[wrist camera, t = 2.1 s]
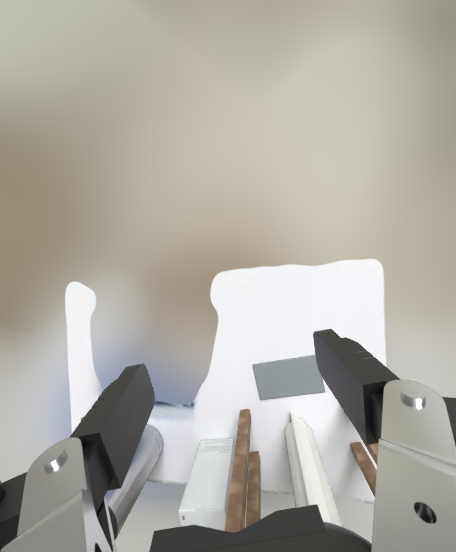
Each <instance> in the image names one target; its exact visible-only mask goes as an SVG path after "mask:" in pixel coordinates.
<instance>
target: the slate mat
mask: <svg viewBox="0 0 456 552" xmlns="http://www.w3.org/2000/svg"><path fill="white" fill-rule="evenodd" d="M253 369H254V373H255V378H256V382H257V387H258V391H259V396H260V400H263V399H271V398H279V397H287V396H295V395H303V394H311V393H319V392H325V389H324V384H323V379H322V376H321V374H320V372H319V370H318V366H317V362H316V355H311V356H305V357H298V358H291V359H285V360H278V361H272V362H265V363H258V364H253Z"/></svg>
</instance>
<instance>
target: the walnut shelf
mask: <svg viewBox="0 0 456 552" xmlns="http://www.w3.org/2000/svg"><path fill="white" fill-rule="evenodd" d="M250 426H251V415H250V410H249V409H244V410H241V411H240V418H239V425H238V433H237V440H236V448H235V455H234V463H233V470H232V478H231V485H230V492H229V500H228V507H227V515H226V522H225V530H224V531H228V532H238V531H241V530H242V529H244V528H245V510H246V494H247V477H248V460H249V477H248V495H247V514H246V527H248V526H250V525H252V524H253V523H255V522H257V521H259V520H260V456H259V451H256V452H250V459H249V443H250ZM357 432H358V431H357ZM358 434H359V433H358ZM359 435H360V434H359ZM360 437H361V436H360ZM361 439H362V437H361ZM362 440H363V439H362ZM363 442H364V440H363ZM364 444H365V446H366V447H367V449H368V451H369V452H370V454H371V456H372V458H373V459H374V461H375V463H376V464H377V459H378V444H379V443H376V444H370V445H366V443H365V442H364ZM351 447H352V452H353V454H354V456H355V458H356V460H357V462H358V464H359V466H360V468H361V470H362V472H363V474H364V476H365V478H366V480H367V482H368V484H369V486H370V488H371V491H372V493H373V495H374V497H375V489H376V474H377V470H376V469H375V467H374V465H373V463H372V462H371V460H370V458H369V456H368V455H367V453H366V451H365V449H364V448H363V446H362V444H361V442H357V443H351Z"/></svg>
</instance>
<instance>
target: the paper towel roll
mask: <svg viewBox="0 0 456 552" xmlns="http://www.w3.org/2000/svg"><path fill="white" fill-rule="evenodd" d="M290 415H291V419H292V421H291V422H290V423H289V424H288V425H287V427H286V428H285V438H286V445H287V452H288V458H289V465H290V472H291V479H292V486H293V492H294V499H295V506H296V508H297V507H303V506H309V505H315V504H317V505H318V508H319V511H320V514H321V517H322V520H323V522H328V523H332V524H335V525H338V526H341V527H343V526H342V522H341V519H340V516H339V513H338V510H337V506H336V503H335V501H334V497H333V494H332V491H331V488H330V484H329V481H328V478H327V475H326V472H325V469H324V465H323V462H322V459H321V456H320V453H319V450H318V446H317V443H316V440H315V437H314V434H313V431H312V428H311V427H310V426H309V425H308V424H307V423H306V422H305V421H304V420H303V419H301V418H299V417H297V416H295V415H294V414H292V413H291V412H290Z"/></svg>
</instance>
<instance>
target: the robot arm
mask: <svg viewBox="0 0 456 552" xmlns="http://www.w3.org/2000/svg"><path fill="white" fill-rule="evenodd" d="M313 337H314V346H315V354H316V362H317V366H318V370H319V372H320V374H321V376H322V378H323V379H324V381H325V382H326V384H327V385H328V387H329V388H330V390H331V391H332V393H333V394H334V396H335V398H336V399H337V401H338V402H339V404H340V405H341V407H342V408H343V410H344V411H345V413H346V414H347V416H348V417H349V419H350V420H351V422H352V423H353V425H354V427H355V428H356V430H357V431H358V433H359V434H360V436H361V437H362V439H363V440H364V442H365V443H366V445H370V444H376V443H379V444H378V459H377V474H376V489H375V505H374V520H373V535H372V544H371V543H370V542H369V541H367V540H366V539H364V538H362V537H361V536H359V535H358V534H356V533H354V532H352V531H350V530H348V529H346V528H344V527H341V526H338V525H335V524H332V523H328V522H323V520H322V517H321V514H320V511H319V508H318V505H317V504H315V505H309V506H303V507H297V508H291V509H285V510H279V511H276V512H274V513H272V514H270V515H268V516H266V517H264V518H263V519H261V520H259V521H257V522H255V523H253V524H252V525H250V526H248V527H246V528H244V529H242V530H241V531H238V532H228V531H223V530H218V529H213V528H208V527H203V526H198V525H188V526H182V527H176V528H170V529H164V530H158V531H154V534H153V539H152V543H151V547H150V551H149V552H456V398H447V397H441V396H440V395H439V394H438V393H436V392H435V391H434V390H433V389H431V388H429V387H427V386H425V385H423V384H420V383H417V382H414V381H409V380H400V379H399V378H398V377H397V376H396V375H395V374H393V373H392V372H391V371H390V370H389V369H388V368H387V367H385V366H384V365H383V364H382V363H381V362H380V361H378V360H377V359H376V358H375V357H373V355H371V354H370V353H369V352H368V351H366V349H365V348H363V347H362V346H361V345H360V344H359V343H358V342H355V341H353V340H351V339H349V338H340V337H339V336H338V335H337V334H336V333H335V332H334V331H333V330H332V329H327V330H321V331H316V332H314V334H313ZM154 399H155V397H154V391H153V387H152V384H151V381H150V377H149V375H148V371H147V368H146V366H145V365H144V364H139V365H134V366H129V367H126V368H125V369H124V371H123V372H122V374H121V375H120V376H119V378H118V379H117V380H115V381H114V382H113V383H111V385H109V386H108V387H107V388H106V389H105V390H104V391H103V392H102V394H101V395H100V397H99V398H98V401H96V402H95V403H94V405H93V406H92V409H90V410H89V412H88V413H87V414H86V416H85V417H84V418H83V420H82V421H81V422H80V424H79V425H78V427H77V428H76V429H75V431H74V432H73V433H72V435H71V436H70V438H67V439H64V440H62V441H60V442H58V443H56V444H54V445H53V446H52V447H50V448H49V449H47V450H46V451H45V452H44V453H42V454H41V455H40V456H39V457H38V458H37V459H36V460H35V461H34V463H33V464H32V465H31V467H30V468H29V470H28V472H26V473H24V474H22V475H19V476H17V477H15V478H12V479H10V480H8V481H6V482H3V483H1V482H0V552H117V550H116V545H115V539H116V538H117V536H118V534H119V532H120V530H121V528H122V526H123V524H124V522H125V520H126V519H127V517H128V515H129V513H130V511H131V509H132V507H133V505H134V503H135V501H136V500H137V498H138V496H139V494H140V492H141V490H142V488H143V486H144V484H145V482H146V481H147V479H148V477H149V475H150V473H151V471H152V469H153V467H154V465H155V464H156V462H157V460H158V458H159V456H160V454H161V452H162V449H163V439H162V436H161V435H160V433H159V432H158V430H157V429H155V428H154V427H152V426H151V425H148V424H147V422H148V419H149V417H150V414H151V411H152V409H153V406H154Z"/></svg>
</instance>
